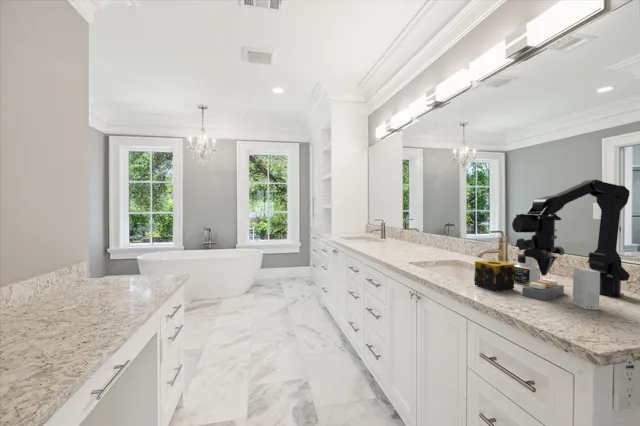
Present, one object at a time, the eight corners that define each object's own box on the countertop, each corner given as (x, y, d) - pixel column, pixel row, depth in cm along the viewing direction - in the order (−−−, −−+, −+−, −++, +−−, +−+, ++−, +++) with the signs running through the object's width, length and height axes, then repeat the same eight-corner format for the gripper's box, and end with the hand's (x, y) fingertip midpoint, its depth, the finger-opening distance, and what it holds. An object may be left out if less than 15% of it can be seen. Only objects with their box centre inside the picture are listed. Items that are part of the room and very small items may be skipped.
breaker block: (541, 289, 116) (541, 281, 116) (563, 293, 110) (563, 285, 110) (522, 295, 107) (522, 287, 107) (545, 300, 101) (545, 292, 101)
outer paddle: (532, 285, 108) (532, 281, 108) (545, 288, 105) (545, 284, 105) (529, 286, 107) (529, 282, 107) (542, 289, 104) (542, 285, 104)
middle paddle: (538, 283, 111) (538, 280, 111) (551, 286, 108) (551, 282, 108) (535, 284, 110) (535, 281, 110) (548, 287, 106) (548, 283, 106)
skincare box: (599, 310, 92) (600, 271, 92) (584, 309, 93) (584, 271, 93) (586, 304, 98) (587, 268, 98) (571, 303, 99) (572, 267, 99)
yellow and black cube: (492, 283, 125) (492, 259, 125) (515, 289, 115) (515, 264, 115) (473, 285, 122) (473, 260, 122) (494, 291, 112) (495, 265, 112)
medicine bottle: (511, 282, 127) (512, 254, 127) (522, 280, 130) (523, 253, 130) (529, 286, 120) (529, 256, 120) (540, 284, 123) (540, 255, 123)
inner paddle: (544, 282, 114) (544, 278, 114) (557, 284, 110) (557, 280, 110) (541, 283, 112) (541, 279, 112) (554, 285, 109) (554, 281, 109)
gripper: (531, 230, 120) (530, 268, 120) (508, 232, 110) (507, 274, 110) (565, 232, 111) (564, 274, 111) (543, 234, 101) (542, 280, 101)
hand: (543, 275), depth 109 cm, fingers closed
